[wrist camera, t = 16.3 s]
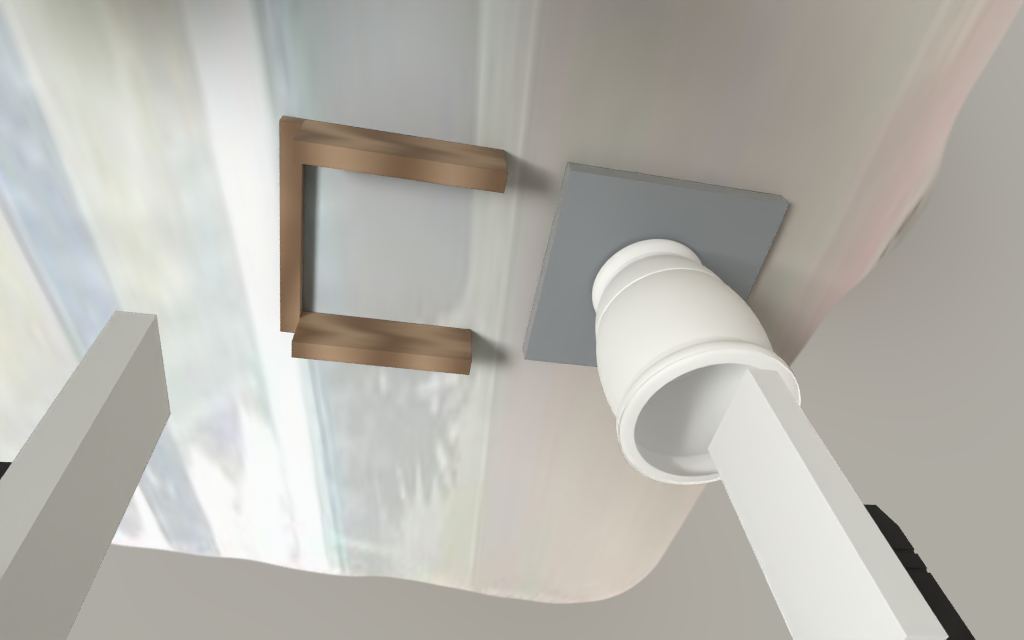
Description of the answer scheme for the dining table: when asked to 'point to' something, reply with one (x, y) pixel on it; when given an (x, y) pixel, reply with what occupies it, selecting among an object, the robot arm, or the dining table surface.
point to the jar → (673, 356)
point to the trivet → (632, 218)
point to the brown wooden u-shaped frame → (386, 158)
